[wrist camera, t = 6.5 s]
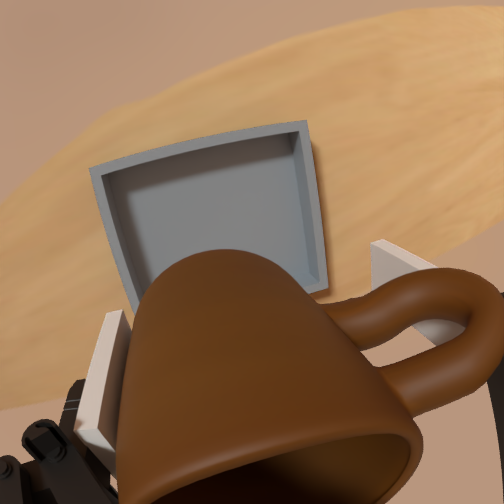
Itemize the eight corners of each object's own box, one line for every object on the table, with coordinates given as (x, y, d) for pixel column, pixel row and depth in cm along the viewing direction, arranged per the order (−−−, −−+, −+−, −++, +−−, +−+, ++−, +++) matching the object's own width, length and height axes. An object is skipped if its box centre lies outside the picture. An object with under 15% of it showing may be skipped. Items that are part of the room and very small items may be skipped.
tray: (145, 321, 29) (144, 338, 26) (98, 165, 23) (88, 168, 21) (315, 275, 31) (328, 287, 29) (293, 122, 26) (306, 119, 23)
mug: (341, 154, 13) (550, 191, 4) (392, 288, 16) (527, 390, 7) (99, 304, 12) (41, 506, 4) (198, 408, 15) (233, 572, 7)
